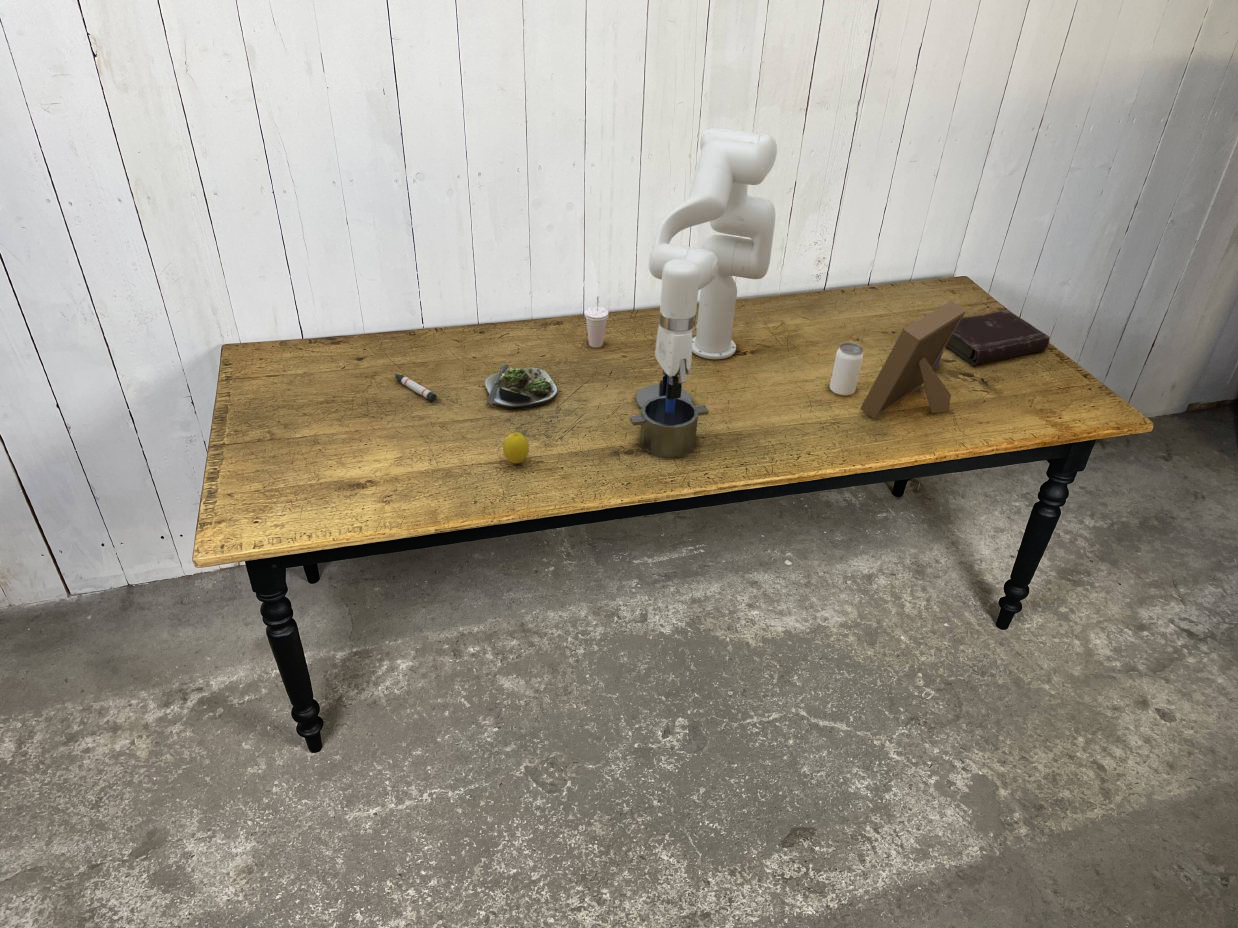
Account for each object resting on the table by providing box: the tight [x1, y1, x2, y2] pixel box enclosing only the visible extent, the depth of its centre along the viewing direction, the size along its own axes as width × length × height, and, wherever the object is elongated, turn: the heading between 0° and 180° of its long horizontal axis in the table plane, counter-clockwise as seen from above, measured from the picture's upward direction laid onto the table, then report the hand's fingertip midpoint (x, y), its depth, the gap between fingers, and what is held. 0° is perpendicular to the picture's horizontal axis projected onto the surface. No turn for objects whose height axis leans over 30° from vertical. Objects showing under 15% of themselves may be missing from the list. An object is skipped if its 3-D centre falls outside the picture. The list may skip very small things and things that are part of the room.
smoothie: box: [584, 295, 610, 349], centre depth 230 cm, size 6×6×14 cm
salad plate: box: [484, 363, 558, 411], centre depth 213 cm, size 19×18×5 cm
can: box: [829, 342, 864, 397], centre depth 216 cm, size 6×6×12 cm
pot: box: [629, 396, 709, 459], centre depth 196 cm, size 13×18×8 cm
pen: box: [665, 375, 679, 413], centre depth 189 cm, size 2×2×12 cm
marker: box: [394, 373, 438, 403], centre depth 212 cm, size 15×2×2 cm, turn 49°
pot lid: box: [635, 380, 693, 410], centre depth 210 cm, size 14×14×6 cm
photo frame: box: [859, 300, 967, 420], centre depth 206 cm, size 15×22×25 cm
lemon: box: [502, 432, 530, 464], centre depth 188 cm, size 6×6×8 cm
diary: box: [945, 309, 1051, 366], centre depth 240 cm, size 19×25×5 cm
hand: (671, 394), depth 190 cm, fingers closed on pen, 2 cm apart
